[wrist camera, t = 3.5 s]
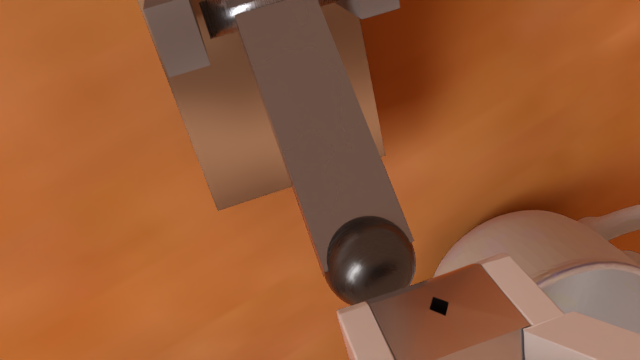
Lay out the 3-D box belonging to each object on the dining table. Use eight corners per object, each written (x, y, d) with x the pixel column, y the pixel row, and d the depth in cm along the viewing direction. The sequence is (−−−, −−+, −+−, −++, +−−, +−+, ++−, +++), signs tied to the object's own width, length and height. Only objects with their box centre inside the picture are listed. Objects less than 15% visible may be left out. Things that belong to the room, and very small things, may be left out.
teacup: (449, 366, 35) (519, 481, 28) (369, 260, 30) (432, 370, 23) (636, 242, 34) (755, 330, 28) (589, 110, 29) (723, 178, 22)
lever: (363, 161, 18) (467, 298, 12) (261, 194, 17) (315, 354, 11) (266, -291, 12) (372, -475, 6) (113, -256, 12) (64, -414, 6)
